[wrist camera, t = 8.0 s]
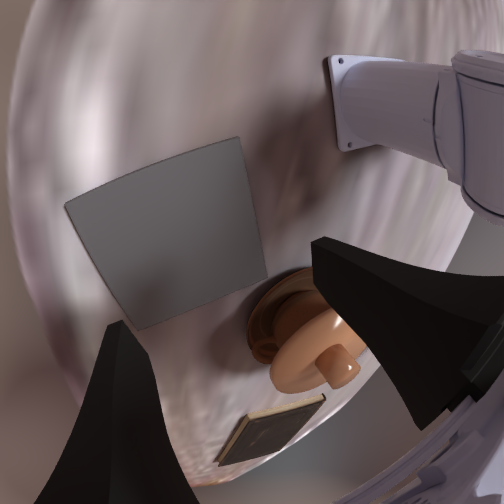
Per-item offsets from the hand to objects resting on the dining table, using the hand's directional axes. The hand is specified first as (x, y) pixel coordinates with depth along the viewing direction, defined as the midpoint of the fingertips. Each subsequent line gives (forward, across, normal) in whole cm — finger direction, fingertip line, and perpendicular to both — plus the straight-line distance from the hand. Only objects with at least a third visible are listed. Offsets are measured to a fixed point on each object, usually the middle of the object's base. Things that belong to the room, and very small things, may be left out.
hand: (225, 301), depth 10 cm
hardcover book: (+11, +1, +48) cm, 49 cm away
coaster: (+10, +1, +3) cm, 11 cm away
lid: (+4, -7, +15) cm, 17 cm away
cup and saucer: (+11, -7, +15) cm, 20 cm away
